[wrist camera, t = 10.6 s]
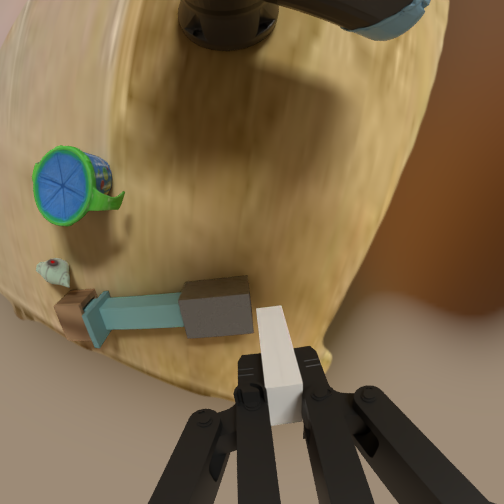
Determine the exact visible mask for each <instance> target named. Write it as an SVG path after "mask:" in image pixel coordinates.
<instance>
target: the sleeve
mask: <svg viewBox="0 0 504 504" xmlns="http://www.w3.org/2000/svg"><path fill="white" fill-rule="evenodd" d="M178 303H179V307H180V311H181V315H182V319H183V323H184V327H185V331H186V334H187V338H203V337H216V336H228V335H239V334H249V333H254V330H253V319H252V308H251V300H250V292H249V283H248V275H246V276H237V277H228V278H219V279H209V280H199V281H189V282H185V285H184V287H183V289H182V292H181V294H180V297H179V299H178Z"/></svg>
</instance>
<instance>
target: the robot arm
mask: <svg viewBox="0 0 504 504" xmlns="http://www.w3.org/2000/svg"><path fill="white" fill-rule="evenodd" d="M430 1H431V0H181V1H180V4H179V8H178V19H179V23H180V25H181V28H182V30H183V32H184V33H185V35H186V36H187V37H188V38H189V39H190V40H191V41H193V42H194V43H196V44H198V45H200V46H202V47H205V48H208V49H213V50H220V51H230V50H238V49H243V48H246V47H249V46H252V45H254V44H256V43H258V42H260V41H261V40H263V39H264V38H265V37H267V36H268V35H269V34H270V32H271V31H272V30H273V28H274V26H275V24H276V21H277V18H278V13H279V6H283V7H286V8H290V9H293V10H296V11H299V12H303V13H306V14H309V15H311V16H314V17H317V18H320V19H323V20H325V21H328V22H330V23H333V24H335V25H338V26H340V27H341V28H342V29H343V30H346V31H349V32H354V33H357V34H359V35H362V36H364V37H366V38H368V39H371V40H375V41H378V40H379V41H387V40H391V39H394V38H396V37H398V36H400V35H402V34H403V33H405V32H406V31H408V30H409V29H410V28H411V27H413V26H414V25H415V24H416V23H417V22H418V21H419V19H420V18H421V17H422V16H423V14H424V13H425V10H424V8H425V7H427V6H428V5H429V3H430ZM278 5H279V6H278ZM256 312H257V321H258V329H259V338H260V347H261V353H258V354H249V355H242V356H241V358H240V359H239V361H238V386H237V387H236V388H235V390H234V398H235V402H236V403H235V405H234V406H233V407H231V408H230V409H227V410H225V411H222V412H219V413H217V412H216V411H214V410H211V409H202V410H198V411H196V412H194V413H193V414H192V415H191V416H190V418H189V420H188V422H187V424H186V426H185V428H184V430H183V432H182V434H181V437H180V439H179V441H178V443H177V445H176V447H175V449H174V451H173V453H172V455H171V457H170V460H169V462H168V464H167V466H166V468H165V470H164V472H163V474H162V476H161V478H160V480H159V482H158V484H157V486H156V488H155V490H154V492H153V494H152V496H151V498H150V501H149V502H148V504H213V503H214V501H215V498H216V495H217V492H218V489H219V486H220V483H221V480H222V477H223V474H224V471H225V467H226V465H227V462H228V458H229V455H230V452H232V451H235V450H237V480H238V482H237V483H238V504H281V501H280V494H279V486H278V479H277V470H276V462H275V454H274V446H273V438H272V431H271V426H272V425H281V424H288V423H295V422H301V421H302V419H303V423H304V432H303V439H306V444H307V449H308V453H309V457H310V462H311V467H312V472H313V476H314V481H315V485H316V491H317V496H318V500H319V504H374V501H373V498H372V494H371V491H370V488H369V485H368V482H367V479H366V477H365V474H364V471H363V468H362V465H361V462H360V459H359V456H358V454H357V451H356V448H355V446H356V447H357V448H358V450H359V451H360V453H361V454H362V456H363V457H364V458H365V459H366V461H367V462H368V464H369V465H370V466H371V468H372V469H373V470H374V472H375V473H376V474H377V475H378V477H379V478H380V480H381V481H382V482H383V483H384V484H385V486H386V487H387V489H388V490H389V491H390V493H391V494H392V495H393V497H394V498H395V499H396V500H397V502H398V503H399V504H495V503H492V502H489V501H488V500H487V499H486V498H485V497H484V496H483V495H482V494H481V493H480V492H479V491H478V490H477V489H476V488H475V486H474V485H473V484H472V483H471V482H470V481H469V480H468V479H467V478H466V477H465V476H464V475H463V474H462V473H461V472H460V471H459V470H458V469H457V468H456V467H455V466H454V465H453V464H452V463H451V462H450V461H449V460H448V459H447V458H446V457H445V456H444V455H443V454H442V453H441V452H440V450H439V449H438V448H437V447H436V446H435V445H434V444H433V443H432V442H431V441H430V440H429V439H428V438H427V437H426V436H425V435H424V434H423V433H422V432H421V431H420V430H419V429H418V428H417V427H416V426H415V425H414V424H413V423H412V422H411V420H410V419H409V418H407V417H406V415H405V414H403V412H402V411H401V410H400V409H399V408H398V407H397V406H396V405H395V404H394V403H393V402H392V401H391V400H390V399H389V398H388V397H387V396H386V395H385V394H384V392H382V391H381V390H380V389H379V388H377V387H375V386H363V387H360V388H359V389H357V390H356V392H355V393H340V392H337V391H335V390H333V388H331V387H330V386H329V384H328V382H327V379H326V376H325V374H324V371H323V368H322V366H321V363H320V360H319V358H318V355H317V352H316V351H315V350H314V349H313V348H312V347H311V346H306V347H300V348H293V345H292V342H291V338H290V335H289V331H288V327H287V324H286V320H285V317H284V313H283V309H282V306H281V305H280V306H272V307H264V308H256Z"/></svg>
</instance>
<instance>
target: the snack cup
mask: <svg viewBox="0 0 504 504" xmlns="http://www.w3.org/2000/svg"><path fill="white" fill-rule="evenodd" d="M32 180H33V192H34V198H35V202H36V205H37V207H38V209H39V211H40V213H41V214H42V215H43V217H44V218H45V219H46V220H48V221H49V222H50V223H52V224H55V225H58V226H71V225H73V223H75V222H77V221H79V220H80V219H81V218H83V217H84V216H85V215H86V213H87V212H88V211H100V210H102V211H104V210H118V209H119V208H120V206H121V204H122V201H123V198H124V194H125V192H124V191H123V192H122V193H121V194H119V195H118V196H117V197H111V196H108V195H107V194H108V193H109V191H110V189H111V186H112V174H111V170H110V168H109V165H108V163H107V162H105V161H104V160H103V159H101V158H99V157H97V156H94V155H91V154H88V153H85V152H82V151H81V150H80V149H78V148H75V147H72V146H62V145H60V146H57V147H55V148H54V149H52V150H50V151H49V152H48V153H47V154H46V155H45V156H44V157H43V158H42V160H41V161H40V162H38V163H36V164H35V166H34V170H33V174H32Z"/></svg>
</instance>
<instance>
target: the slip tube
mask: <svg viewBox="0 0 504 504" xmlns="http://www.w3.org/2000/svg"><path fill="white" fill-rule="evenodd" d="M180 294H181V292H179V293H167V294H155V295H142V296H129V297H114V298H110V295H109V292H108V291H104V292H103V293H102V294H101V295H100V296H99V297H98V298H97V299H91V300H90V301H89V302H88V303H87V304H86V305H85V306H84V308H83V311H84V314H83V315H82V318H83V321H84V323H85V326H86V328H87V331H88V333H89V335H90V338H91V340H92V342H93V345H94V347H95V348H100V347H101V345H102V344H103V342H104V341H105V339H106V338H107V336H108V335H109V333H110V332H111V330H113V329H149V328H170V327H184V323H183V319H182V315H181V311H180V307H179V303H178V299H179V297H180Z"/></svg>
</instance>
